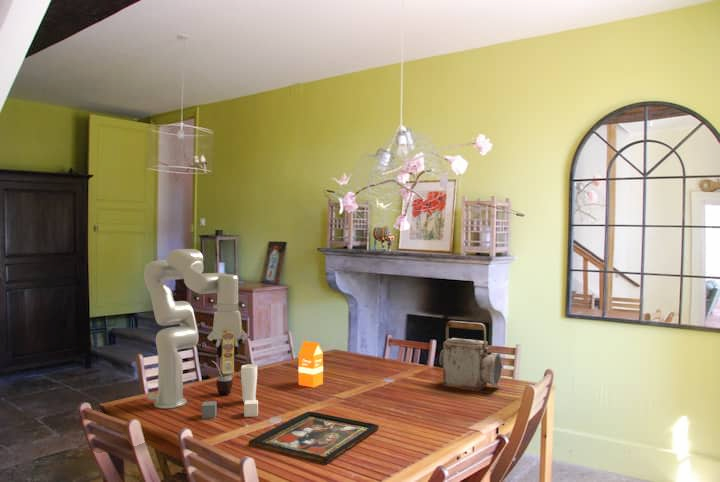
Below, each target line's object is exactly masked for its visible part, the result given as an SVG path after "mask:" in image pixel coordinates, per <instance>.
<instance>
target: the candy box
mask: <svg viewBox="0 0 720 482" xmlns="http://www.w3.org/2000/svg"><path fill="white" fill-rule="evenodd" d="M220 344H221V357H220V358H221V359H220V362H221V364H220V365H221V374H222V375H230V374H234V372H235V357H234V345H235V343H234V331H224V332H223V339H221V343H220Z"/></svg>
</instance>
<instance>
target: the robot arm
mask: <svg viewBox="0 0 720 482" xmlns="http://www.w3.org/2000/svg"><path fill="white" fill-rule="evenodd" d="M203 256H204V255H203V254H202V253H201V251H200V250H198V249H196V248H177V249H173V250H171V251H169V253H167V255H166V259H158V260H153V261H149V263H147V264H146V265H145V267H144V272H143V273H144V275H143V276H144V282H145V284H146V287H147V290H148V291H149V294H150V299H151V304H152V309H153V315H154V318H155V322H156V323H157V325H159V326H170V325H171V326H173V325H179V326H174V327H168V328H167V327H166V328H163V329H160V330H159V331H158V332H157V334H156V335H155V336H156V337H155V346H156V350H157V359H158V360H157V361H158V362H157V364H158V365H157V366H158V367H157V369H158V370H157V371H158V372H157V375H158V376H157V378H158V380H157V381H158V385H157V387H158V390H157V391H158V392H157V393H156V394H147V401H149V402H151V401H153V402H154V403H153V406H154V407H155V408H157V409H174V408H179V407H182V406H185V405H186V404H187V399H186V398H185V397H183V396H184V395H183V393H184V392H183V391H184V390H183V389H184V388H183V381H184V380H183V378H184V377H183V376H184V375H183V374H184V373H183V371H184V370H183V369H184V368H183V366H184V363H183V358H182V357H181V355H180V353H179V352H178V351H180V350H185V349H190V348H193V347H195V346H196V345H197V344H198V342H199V336H200V335H199V329H198V325H197V320H196V316H195V312H194V308H193V306H192V305H191V304H190V302H188V301H186V300H177V301H175V299H174V296H173V292H172V289H171V287H169V285H168V284H166V283H165V281H172V280H174V281H175V280H183V282H184V284H185V286H186V287H187V288H188V289H190V290H191V291H192V292H194V293H196V294H199V295H201V294H202V295H205V294H206V295H207V294H217V298H216V299H217V301H216V302H217V303H216V304H213V309H216V311H215V312H214V317H213V324H212V325H213V326H212V330H211V332H210V333H209V334H208V336H207V339H208V341H211V342H212V343H213V345H215V347H216V356H218V359H219V358H221V339H223V332H224V331H234V358H236V357H237V356H238V355H239V346H240V345H241V344H242V343H243V342H244V341H245V340H247V339H248V337H249V336H248V334H247V333H246V332H245V331H244V329H243V328H242V326H243V324H242V315H241V311H240V310H239V277H238V275H236V274H229V273H228V274H227V273H225V272H208V273H207V272H206V273H203V272H204V257H203Z"/></svg>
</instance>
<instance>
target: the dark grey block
mask: <svg viewBox="0 0 720 482" xmlns="http://www.w3.org/2000/svg"><path fill="white" fill-rule="evenodd" d="M217 402H218V401H216V400H215V401H203V402H202V405H201V419H216V417H217V413H218V410H217V409H218V408H217V406H218V403H217Z"/></svg>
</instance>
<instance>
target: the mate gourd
mask: <svg viewBox="0 0 720 482" xmlns="http://www.w3.org/2000/svg"><path fill="white" fill-rule="evenodd" d="M211 362H212V363H214V365H215V366H216V368H217V370H218V373H219V376H218V377H217V378H216V382H215V383H216V385H215V386H216V389H217V396H220V397H221V396H227V397H228V396H230V394H231V393H232V391H231V390H232V387H233V383H234V380H233V378H232V376H231V375H230V374H222V371H221V370H220V366H219V364H218V363H217V362H215V361H213V360H211Z"/></svg>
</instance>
